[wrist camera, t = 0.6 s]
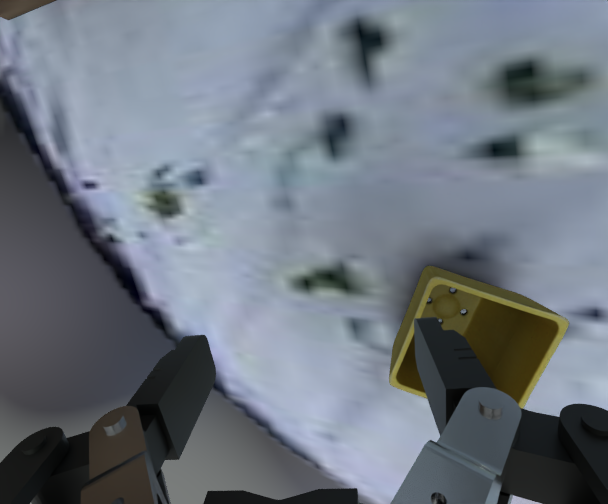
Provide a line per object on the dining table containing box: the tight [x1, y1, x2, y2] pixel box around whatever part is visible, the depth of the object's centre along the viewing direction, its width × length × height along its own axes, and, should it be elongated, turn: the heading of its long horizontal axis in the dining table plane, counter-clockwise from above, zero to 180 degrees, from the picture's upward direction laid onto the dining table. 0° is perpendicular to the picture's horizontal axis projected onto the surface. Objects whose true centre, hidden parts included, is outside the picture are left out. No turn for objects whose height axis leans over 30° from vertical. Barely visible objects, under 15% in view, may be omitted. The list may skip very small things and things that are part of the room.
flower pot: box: [389, 266, 569, 409], centre depth 27 cm, size 9×9×9 cm
